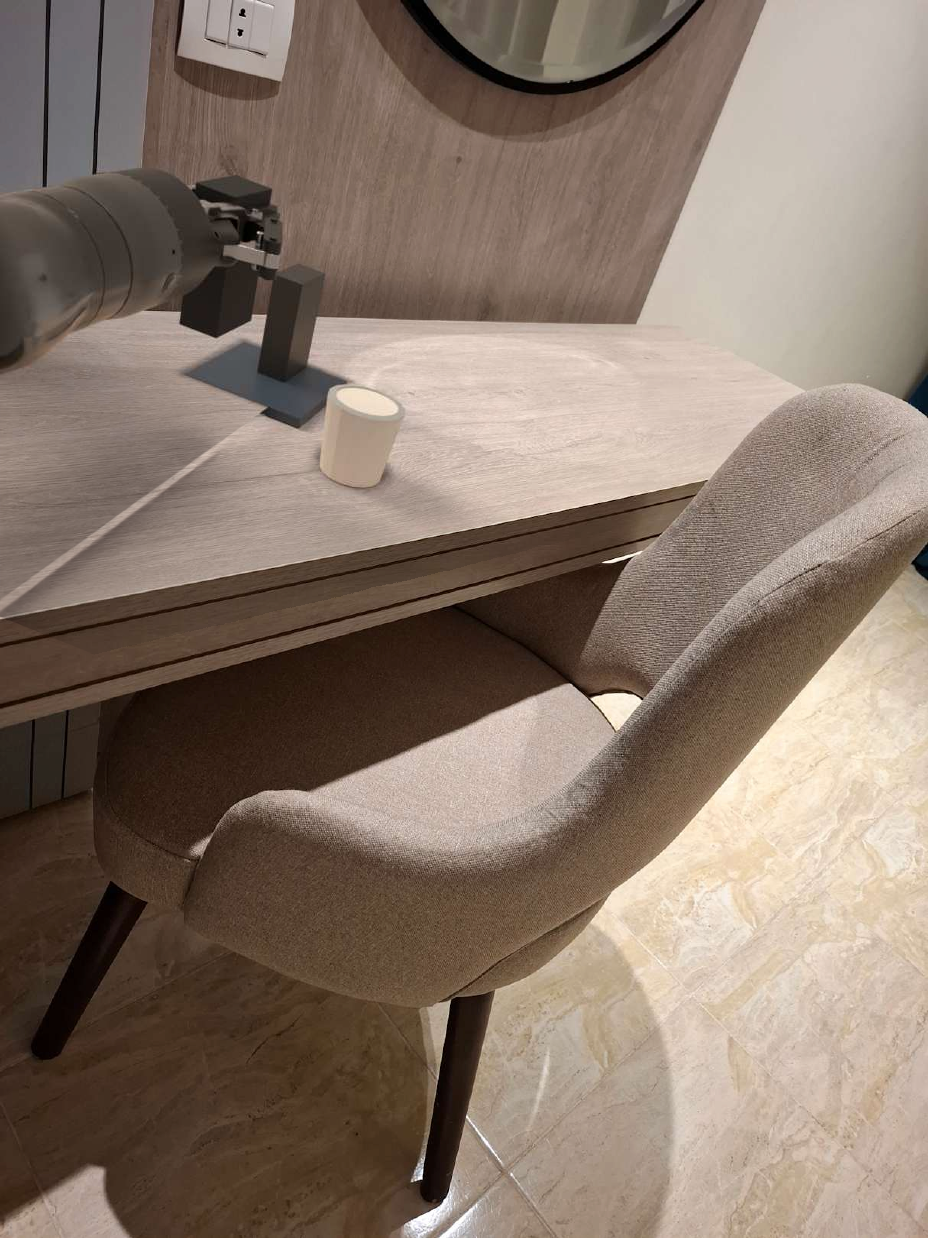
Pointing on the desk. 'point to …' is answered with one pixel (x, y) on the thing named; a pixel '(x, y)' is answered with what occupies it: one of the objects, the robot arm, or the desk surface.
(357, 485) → the shot glass
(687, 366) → the desk surface
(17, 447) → the desk surface
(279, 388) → the dock
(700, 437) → the desk surface
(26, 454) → the desk surface
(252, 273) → the block
